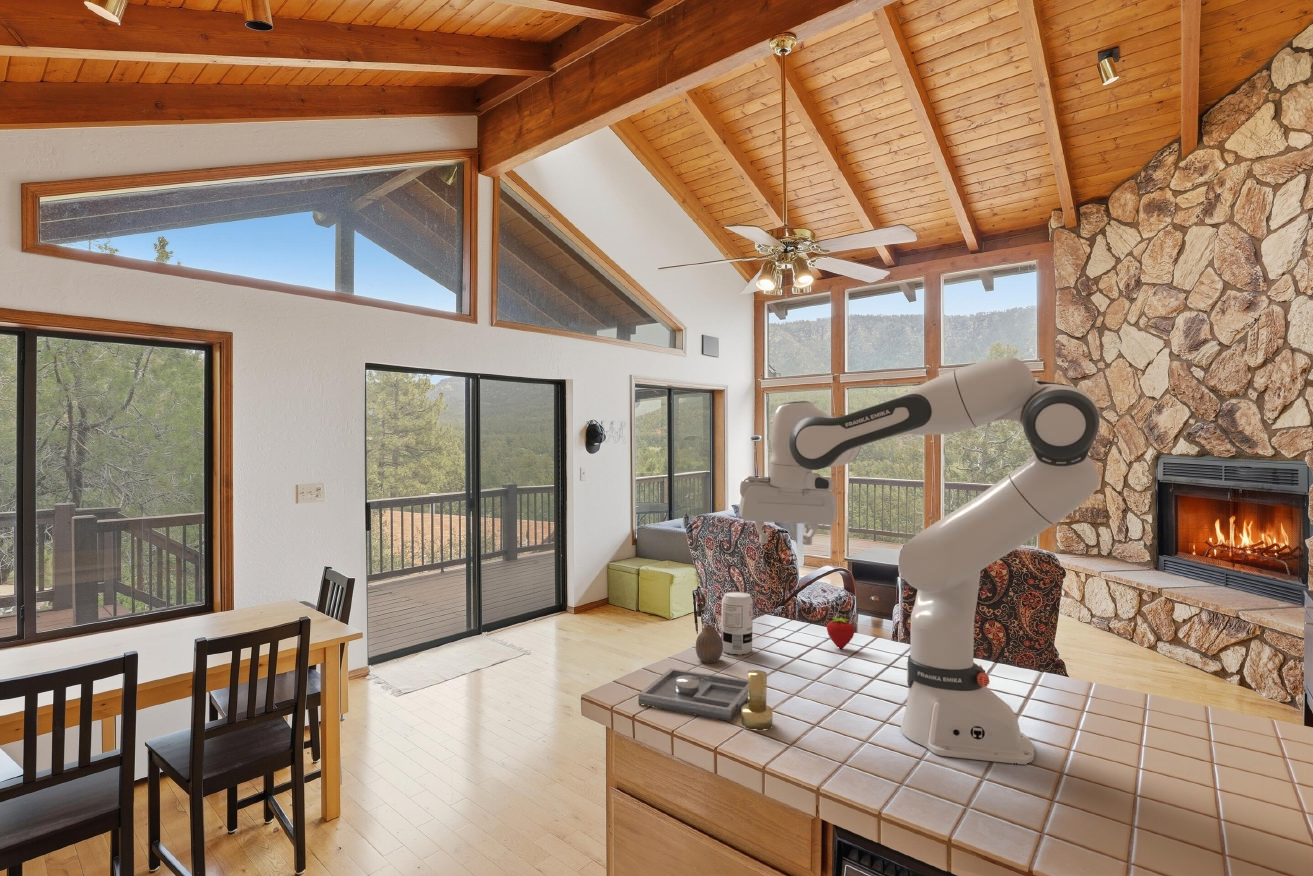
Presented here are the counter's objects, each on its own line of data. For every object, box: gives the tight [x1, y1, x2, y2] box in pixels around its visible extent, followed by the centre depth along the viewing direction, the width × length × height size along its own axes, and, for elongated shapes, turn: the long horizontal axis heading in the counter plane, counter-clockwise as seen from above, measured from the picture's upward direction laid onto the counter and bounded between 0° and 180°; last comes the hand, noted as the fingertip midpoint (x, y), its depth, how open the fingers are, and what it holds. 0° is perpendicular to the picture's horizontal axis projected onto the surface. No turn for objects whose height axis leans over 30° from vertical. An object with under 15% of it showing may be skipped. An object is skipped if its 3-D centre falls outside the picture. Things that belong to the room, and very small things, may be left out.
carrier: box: [637, 668, 748, 722], centre depth 142 cm, size 20×18×4 cm
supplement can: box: [720, 591, 754, 656], centre depth 176 cm, size 8×8×15 cm
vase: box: [695, 624, 724, 664], centre depth 168 cm, size 7×7×9 cm
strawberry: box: [826, 612, 855, 649], centre depth 179 cm, size 6×8×10 cm
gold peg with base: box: [740, 669, 774, 730], centre depth 129 cm, size 6×6×10 cm
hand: (785, 543), depth 139 cm, fingers open, 8 cm apart
